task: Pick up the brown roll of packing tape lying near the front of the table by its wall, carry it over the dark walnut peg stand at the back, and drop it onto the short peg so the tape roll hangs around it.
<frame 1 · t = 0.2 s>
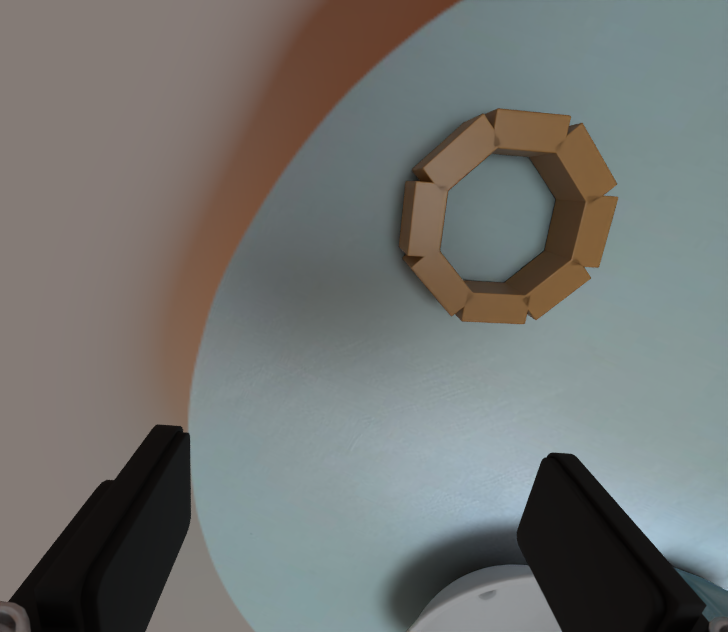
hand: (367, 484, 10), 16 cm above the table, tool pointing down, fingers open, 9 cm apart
tape roll: (491, 221, 24), on the table
flower pot: (661, 584, 36), on the table
dish: (482, 580, 34), on the table
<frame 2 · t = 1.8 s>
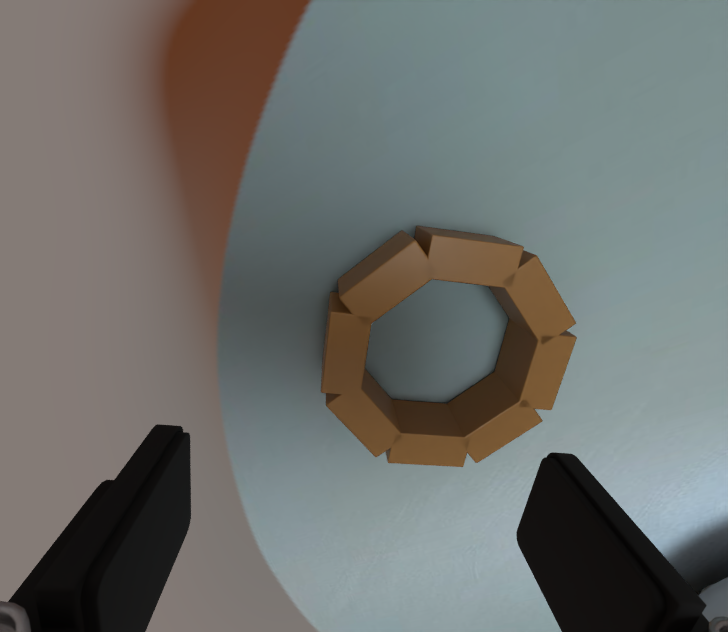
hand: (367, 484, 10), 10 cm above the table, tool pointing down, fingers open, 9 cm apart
tape roll: (432, 338, 20), on the table
dish: (707, 588, 29), on the table
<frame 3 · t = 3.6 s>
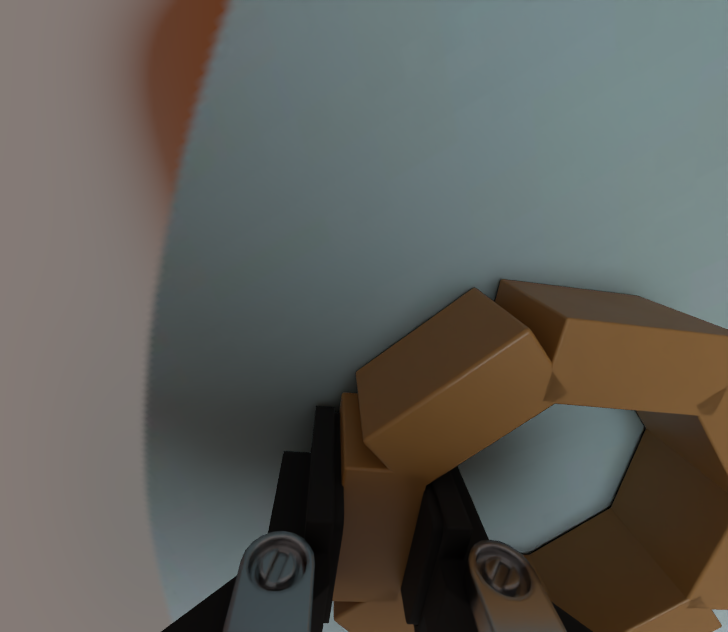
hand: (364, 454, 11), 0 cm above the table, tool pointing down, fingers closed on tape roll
tape roll: (514, 461, 12), on the table, touching gripper
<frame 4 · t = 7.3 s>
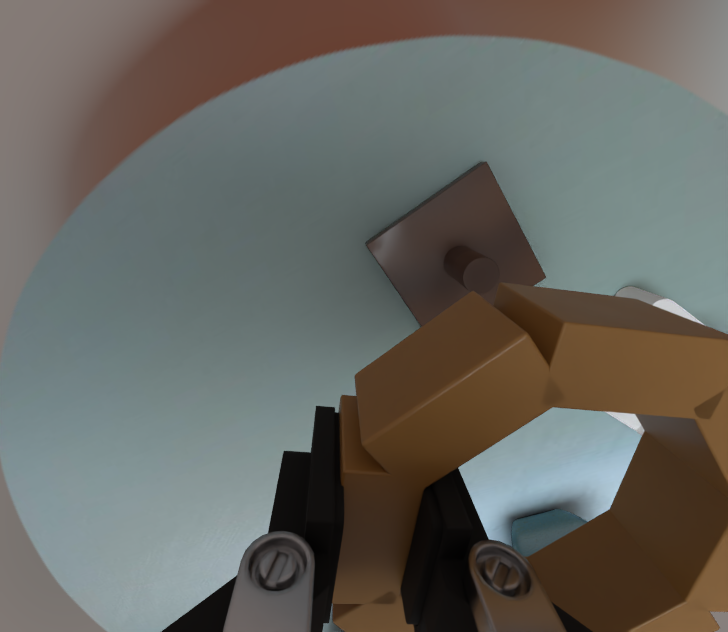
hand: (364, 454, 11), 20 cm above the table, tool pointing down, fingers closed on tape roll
tape roll: (513, 463, 12), point 19 cm above the table, touching gripper
flower pot: (536, 528, 40), on the table
peg stand: (454, 258, 29), on the table
white slotted bracket: (655, 374, 35), on the table
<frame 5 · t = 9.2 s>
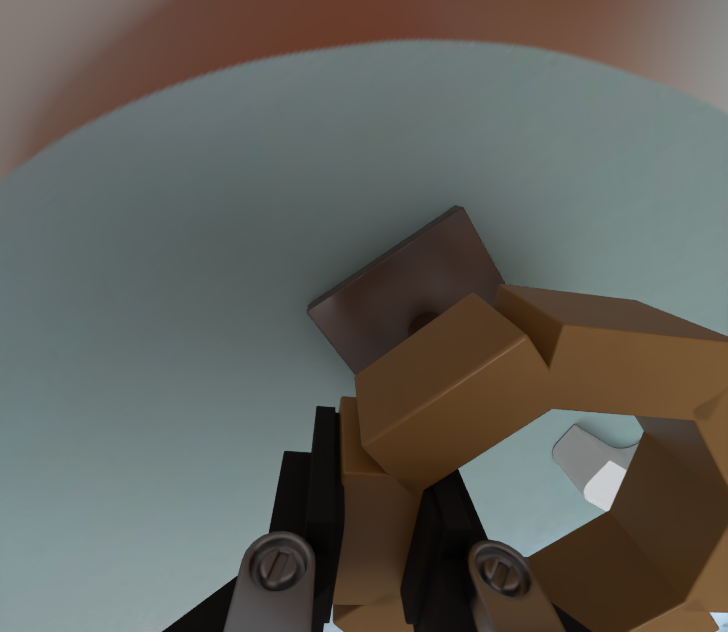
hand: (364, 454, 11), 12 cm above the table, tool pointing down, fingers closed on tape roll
tape roll: (513, 464, 12), point 12 cm above the table, touching gripper
peg stand: (424, 324, 23), on the table
white slotted bracket: (674, 456, 28), on the table
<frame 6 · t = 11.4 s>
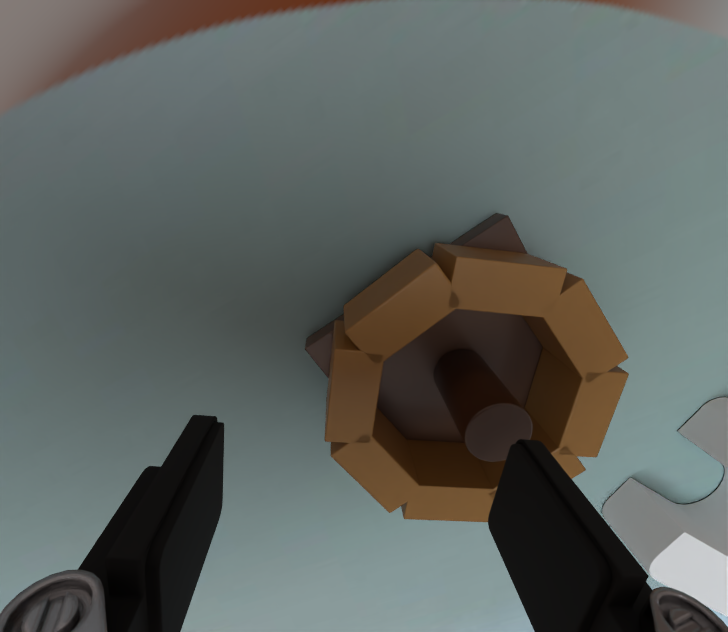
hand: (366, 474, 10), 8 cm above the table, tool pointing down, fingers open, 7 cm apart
tape roll: (453, 371, 17), point 1 cm above the table, touching peg stand
peg stand: (451, 360, 18), on the table
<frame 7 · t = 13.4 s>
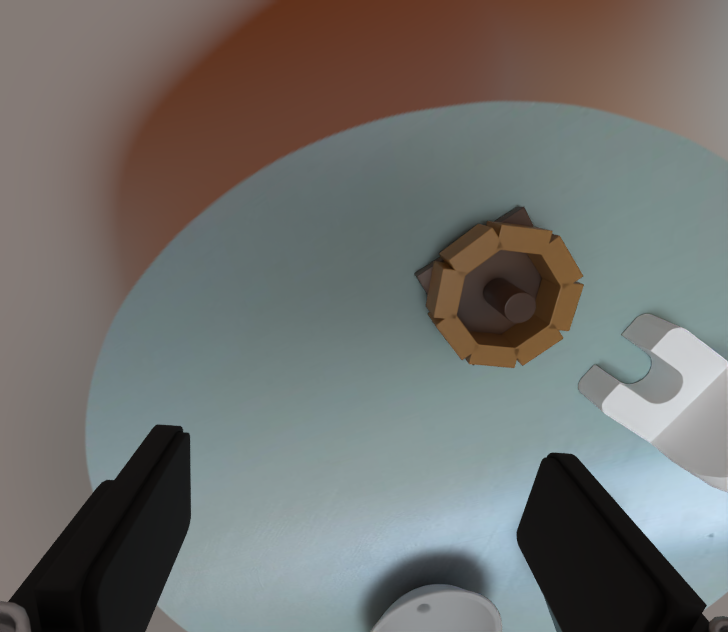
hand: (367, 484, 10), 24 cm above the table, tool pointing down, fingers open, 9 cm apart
tape roll: (494, 290, 32), point 1 cm above the table, touching peg stand
dish: (421, 598, 46), on the table
peg stand: (491, 288, 33), on the table
white slotted bracket: (668, 392, 38), on the table
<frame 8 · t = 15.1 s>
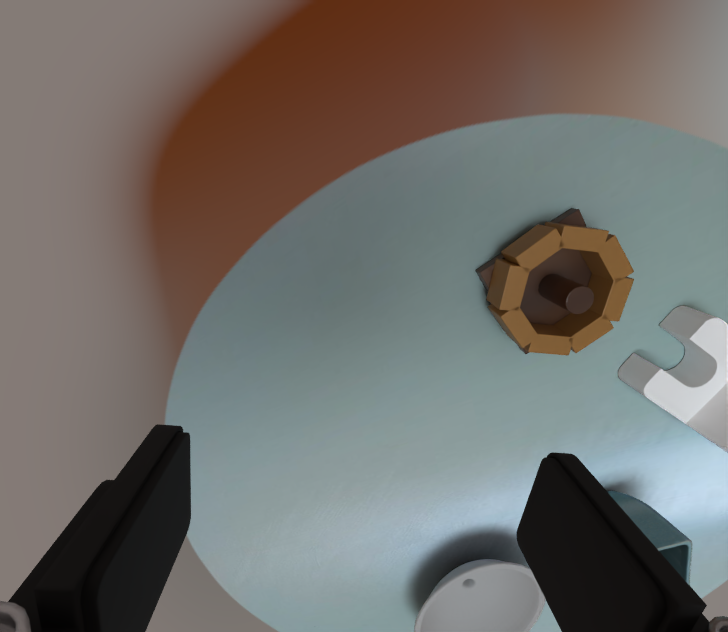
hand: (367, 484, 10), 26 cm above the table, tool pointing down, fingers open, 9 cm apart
tape roll: (548, 285, 35), point 1 cm above the table, touching peg stand
flower pot: (591, 508, 47), on the table
dish: (465, 574, 49), on the table
peg stand: (544, 283, 37), on the table
white slotted bracket: (698, 377, 42), on the table
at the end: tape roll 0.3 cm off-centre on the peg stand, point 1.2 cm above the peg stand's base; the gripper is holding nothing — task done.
